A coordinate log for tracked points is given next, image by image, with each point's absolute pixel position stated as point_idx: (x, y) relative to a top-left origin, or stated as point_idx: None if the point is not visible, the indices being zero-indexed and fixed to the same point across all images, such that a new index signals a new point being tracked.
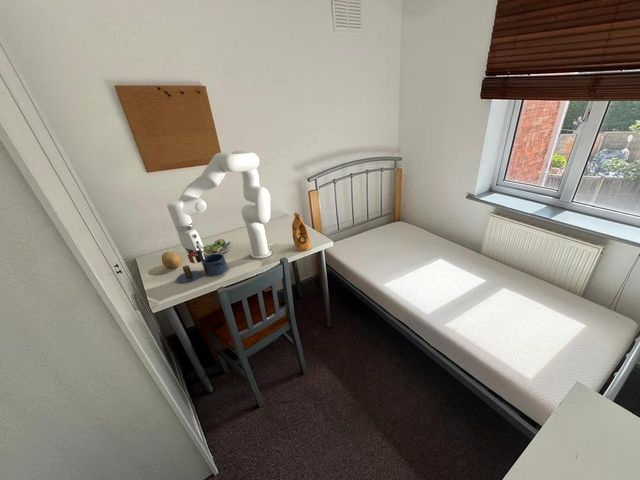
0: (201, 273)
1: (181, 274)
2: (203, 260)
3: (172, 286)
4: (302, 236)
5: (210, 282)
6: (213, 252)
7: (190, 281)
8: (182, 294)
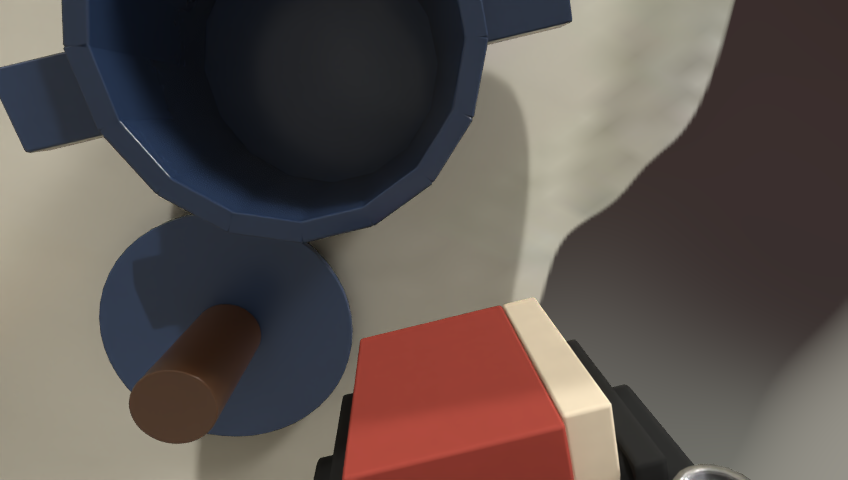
0: None
1: (117, 367)
2: (181, 169)
3: (275, 472)
4: None
5: (495, 233)
6: None
7: (346, 363)
8: None
